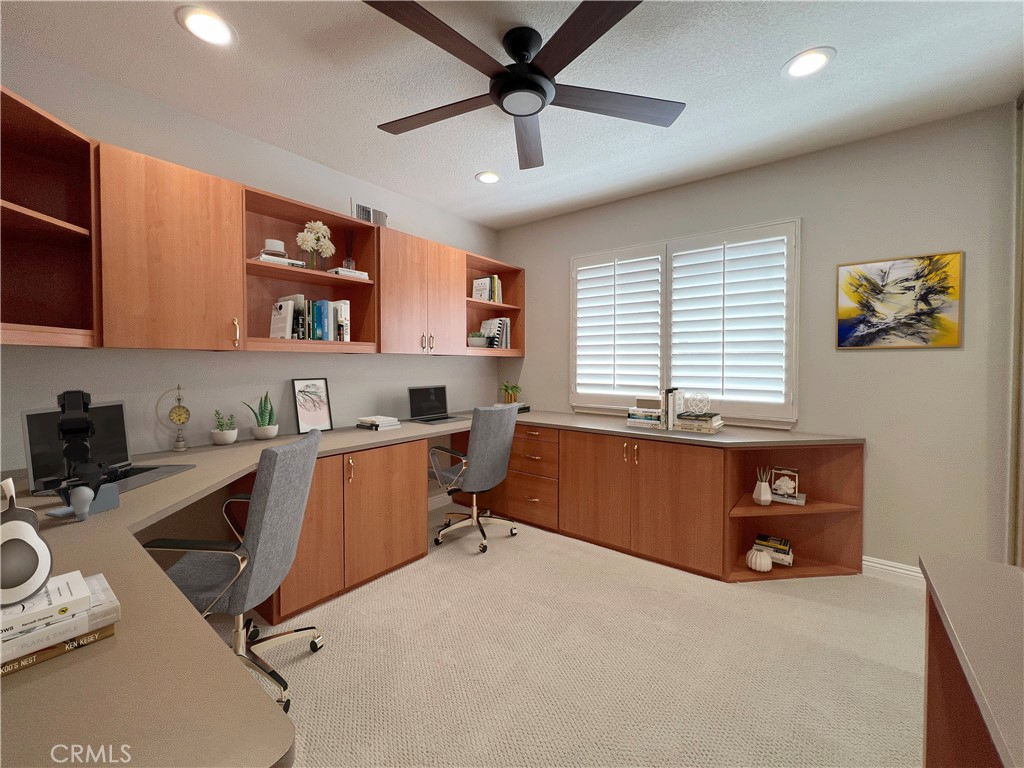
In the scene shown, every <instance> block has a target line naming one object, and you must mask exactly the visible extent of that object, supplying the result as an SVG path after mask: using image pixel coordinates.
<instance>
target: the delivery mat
mask: <svg viewBox="0 0 1024 768" xmlns="http://www.w3.org/2000/svg"><path fill="white" fill-rule="evenodd" d="M45 514H46V515H49V516H52V517H53V516H54V517H59V518H65V517H67V516H71V515H74V508H73V507H72V506H71V505H70V507H67V506H65V507H61V508H56V509H53V510H52V509H51V510H49V511H46V512H45Z"/></svg>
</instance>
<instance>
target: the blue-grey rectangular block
mask: <svg viewBox="0 0 1024 768" xmlns="http://www.w3.org/2000/svg"><path fill="white" fill-rule="evenodd" d="M119 491H120V490H119V484H117V483H111V482H110V483H103V484H102V485H101V487H100V489H99V492H98V494H97V497H96V499H95V501H91V503H90V505H89V511H88V516H92V515H95V514H98V513H102V512H105V511H110V510H114V509H117V508H119V507H121V506H120V492H119ZM73 515H74V516H76V514H75V511H74V514H73Z"/></svg>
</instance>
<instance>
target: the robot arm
mask: <svg viewBox="0 0 1024 768" xmlns="http://www.w3.org/2000/svg"><path fill="white" fill-rule="evenodd" d="M91 396H92V395H91V393H90V392H86V391H84V390H81V389H76V390H75V389H74V390H73V389H71V390H64V391H62V393H59V394H57V395H56V402H57V405H56V406H57V408H58V409H59V408H60V411H61V412H60V413H61V415H60V420H58V421H57V423H56V426H57V441H58V442H62V441H63V449H62V455H63V457H64V459H62V464H64V467H65V468H64V469H65V470H63V477H56V476H50V477H44V478H39V479H36V480H35V481H34V483H33V486H34V488H33V489H34V490H37V491H43V492H44V491H53V492H55V494H56V495H57V496H58V497H59V498H60V499H61V501H62V502H63V504H64V505H65V507H70V506H71V505H70V497H69V492H70V491H71V490H73V489H75V488H77V487H88V488H90V489H92V490H93V492H94V497H93V499H92V501H95V499H96V497H97V494H98V492H99V489H100V487H101V485H103V484H104V482H106V481H107V480H110V477H114V476H119V475H120V469H119V467H117V466H114V465H109V462H107V461H101V462H99V463H95V462H94V459H93V457H91V449H90V439H91V438H93V436H94V435H96V429H95V428H96V426H95V422H94V421H93V419H92V418H89V414H88V413H89V412H90V407H91V406H92V397H91Z"/></svg>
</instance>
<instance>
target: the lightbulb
mask: <svg viewBox="0 0 1024 768" xmlns="http://www.w3.org/2000/svg"><path fill="white" fill-rule="evenodd" d="M69 497H70V506H72V507H73V508H74V511H75V514H76V515H75V517H76V520H77V521H81V522H83V521H85V520H86V519H88V516H89V515H88V511H89V505H90V503H91V501H92V499H93V497H94V492H93V490H92V489H90V488H88V487H77V488H75V489H73V490H71V489H70V490H69Z"/></svg>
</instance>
